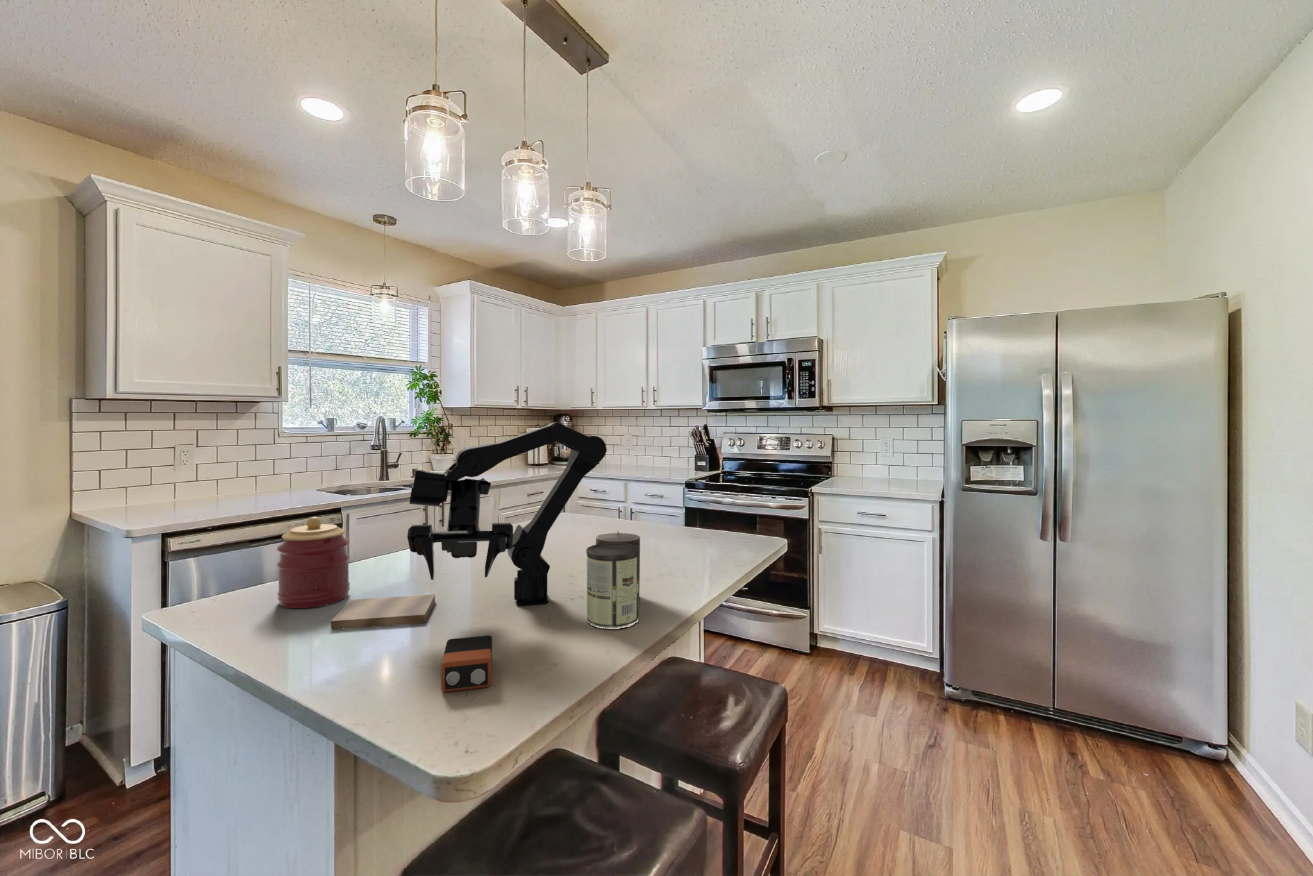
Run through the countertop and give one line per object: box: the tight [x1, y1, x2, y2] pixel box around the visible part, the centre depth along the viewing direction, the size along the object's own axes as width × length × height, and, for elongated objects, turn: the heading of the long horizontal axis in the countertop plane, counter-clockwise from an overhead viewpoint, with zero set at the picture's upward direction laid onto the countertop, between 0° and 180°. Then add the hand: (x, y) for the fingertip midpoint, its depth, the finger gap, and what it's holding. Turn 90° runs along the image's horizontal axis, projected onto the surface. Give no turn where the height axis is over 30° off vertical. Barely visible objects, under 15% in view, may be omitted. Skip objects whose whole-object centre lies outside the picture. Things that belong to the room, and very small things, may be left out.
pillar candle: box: [595, 530, 641, 589], centre depth 117 cm, size 10×10×15 cm
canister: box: [276, 516, 351, 609], centre depth 115 cm, size 13×13×18 cm
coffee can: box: [585, 543, 641, 628], centre depth 105 cm, size 10×10×14 cm
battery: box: [440, 634, 493, 693], centre depth 81 cm, size 4×7×10 cm
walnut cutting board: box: [330, 594, 436, 630], centre depth 107 cm, size 16×12×2 cm
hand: (459, 577), depth 98 cm, fingers open, 9 cm apart
